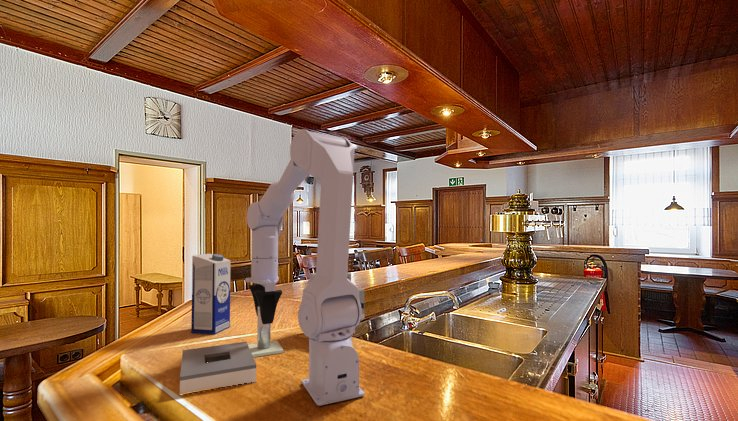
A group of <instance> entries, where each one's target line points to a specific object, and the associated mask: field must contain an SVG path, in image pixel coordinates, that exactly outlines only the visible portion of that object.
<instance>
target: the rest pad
mask: <svg viewBox="0 0 738 421" xmlns="http://www.w3.org/2000/svg"><path fill="white" fill-rule="evenodd" d="M248 346H249V349H250V351H251V353H252V356H253V358H259V357H266V356H270V355H276V354H284V349H283V347H282V345H281V344H280V343H279V341H278V340H272V341H271V340H270V348H268V349H258V348H257V342H256V343H251V344H248Z"/></svg>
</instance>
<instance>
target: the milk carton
mask: <svg viewBox="0 0 738 421" xmlns="http://www.w3.org/2000/svg"><path fill="white" fill-rule="evenodd" d="M191 258H192V264H191V267H192V268H191V320H190V321H191V324H190V325H191V329H190V332H191V334H197V335H198V334H199V335H200V334H201V335H216V334H219V333H220V332H223V331H225V330H227V329H229V328H230V327H231V262H232V261H231V260H230V259H228V258H225V256H224V255H223V254H219V253H213V254H212V253H203V254H193V255H192V257H191Z"/></svg>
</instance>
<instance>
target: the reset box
mask: <svg viewBox="0 0 738 421" xmlns="http://www.w3.org/2000/svg"><path fill="white" fill-rule="evenodd" d="M248 345H249V344H248V342H247V341H240V342H233V343H227V344H220V345H219V344H218V345H210V346H206V347H204V346H203V347H195V348H188V349H182V355H181V364H180V372H179V374H180V375H179V395H180V394H183V393H187V392H193V391H198V390H204V389H209V388H216V387H217V388H218V387H225V386H231V387H233V386H232V385H236V386H239V385H238V384H242V385H245V384H244V383H247V384H252V383H257V363H256V360H255V357H253V356H252V353H251V351H250V349H249V346H248ZM207 362H208V363H207ZM251 382H252V383H251ZM225 388H226V387H225Z"/></svg>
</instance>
